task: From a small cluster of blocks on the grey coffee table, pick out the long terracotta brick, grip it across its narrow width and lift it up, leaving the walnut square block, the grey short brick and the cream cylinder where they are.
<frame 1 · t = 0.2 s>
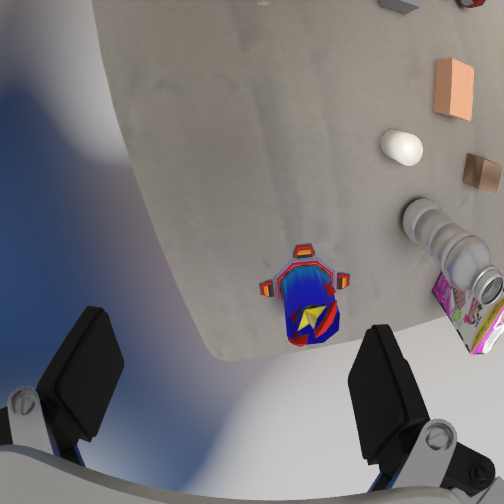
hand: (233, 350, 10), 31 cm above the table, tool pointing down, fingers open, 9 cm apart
walnut square block: (474, 169, 35), on the table
candy bar box: (451, 267, 44), on the table
terracotta long brick: (445, 89, 30), on the table
cream cylinder: (393, 143, 35), on the table
plastic bottle: (415, 214, 39), on the table
fantasy tower: (305, 283, 46), on the table
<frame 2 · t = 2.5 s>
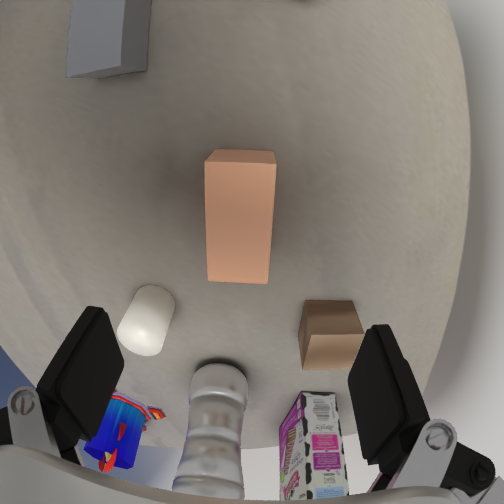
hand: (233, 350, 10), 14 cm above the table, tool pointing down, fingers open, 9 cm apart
walnut square block: (324, 318, 27), on the table
candy bar box: (303, 411, 36), on the table
terracotta long brick: (242, 202, 22), on the table
cream cylinder: (154, 302, 26), on the table
plastic bottle: (221, 372, 31), on the table
fantasy tower: (123, 407, 38), on the table
grey short brick: (124, 37, 15), on the table
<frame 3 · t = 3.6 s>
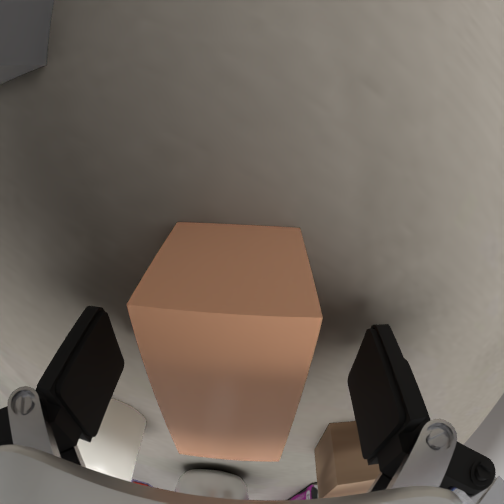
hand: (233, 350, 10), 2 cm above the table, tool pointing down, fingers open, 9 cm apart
walnut square block: (352, 434, 17), on the table
candy bar box: (312, 492, 25), on the table
terracotta long brick: (236, 316, 12), on the table
cream cylinder: (119, 413, 16), on the table
plastic bottle: (214, 470, 21), on the table
grey short brick: (21, 14, 5), on the table
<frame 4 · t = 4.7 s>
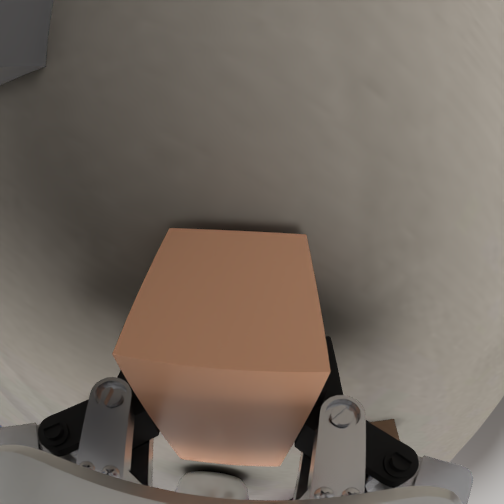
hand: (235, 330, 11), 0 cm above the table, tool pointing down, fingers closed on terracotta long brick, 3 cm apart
terracotta long brick: (236, 323, 11), on the table, tilted 7°, touching gripper
plastic bottle: (214, 472, 21), on the table
grey short brick: (20, 14, 5), on the table
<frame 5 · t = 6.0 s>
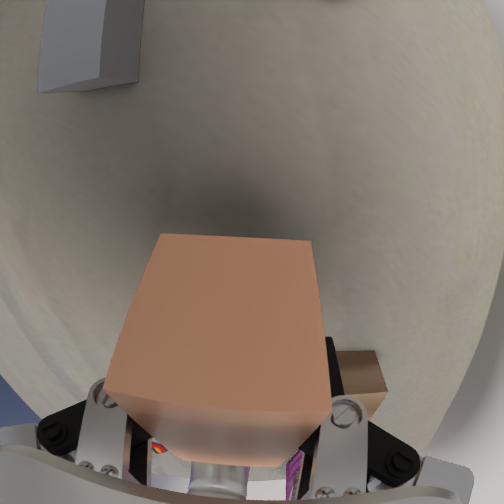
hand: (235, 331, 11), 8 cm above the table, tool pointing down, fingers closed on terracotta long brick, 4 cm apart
walnut square block: (342, 368, 23), on the table
candy bar box: (313, 450, 31), on the table
terracotta long brick: (235, 326, 10), point 8 cm above the table, tilted 13°, touching gripper
plastic bottle: (226, 416, 27), on the table
grey short brick: (112, 41, 12), on the table
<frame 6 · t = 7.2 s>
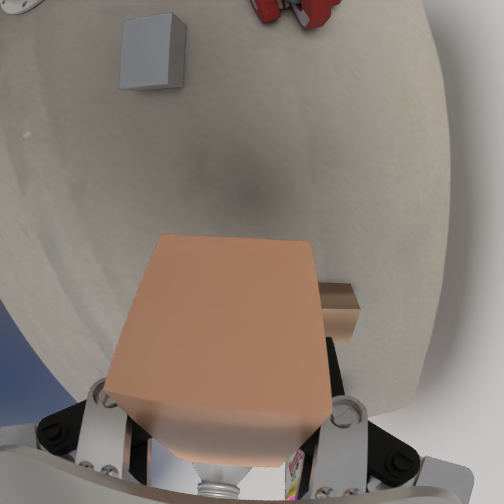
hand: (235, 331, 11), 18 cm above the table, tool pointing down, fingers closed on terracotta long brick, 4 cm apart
walnut square block: (326, 299, 32), on the table
candy bar box: (308, 393, 40), on the table
terracotta long brick: (235, 326, 10), point 18 cm above the table, tilted 13°, touching gripper
plastic bottle: (234, 351, 36), on the table
grey short brick: (163, 57, 21), on the table
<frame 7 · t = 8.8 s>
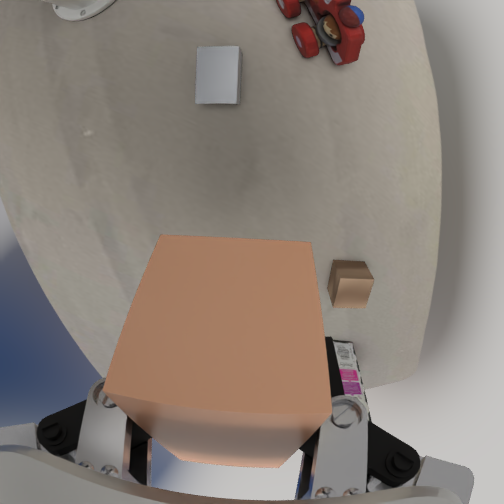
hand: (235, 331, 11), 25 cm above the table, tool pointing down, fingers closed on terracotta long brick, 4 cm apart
walnut square block: (345, 274, 39), on the table
candy bar box: (327, 361, 48), on the table
toy fire truck: (316, 20, 24), on the table
terracotta long brick: (235, 327, 10), point 26 cm above the table, tilted 12°, touching gripper
grey short brick: (222, 78, 28), on the table
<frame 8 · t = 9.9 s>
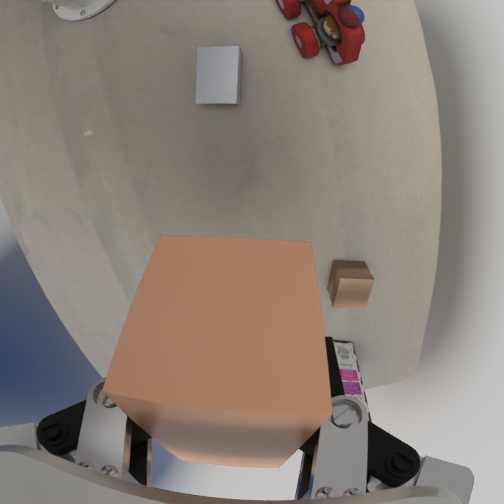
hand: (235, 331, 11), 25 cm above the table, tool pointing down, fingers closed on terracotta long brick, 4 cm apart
walnut square block: (345, 274, 39), on the table
candy bar box: (327, 361, 48), on the table
toy fire truck: (316, 20, 24), on the table
terracotta long brick: (235, 327, 10), point 26 cm above the table, tilted 12°, touching gripper
grey short brick: (222, 78, 28), on the table
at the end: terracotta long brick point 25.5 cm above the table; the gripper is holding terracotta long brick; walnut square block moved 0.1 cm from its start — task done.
